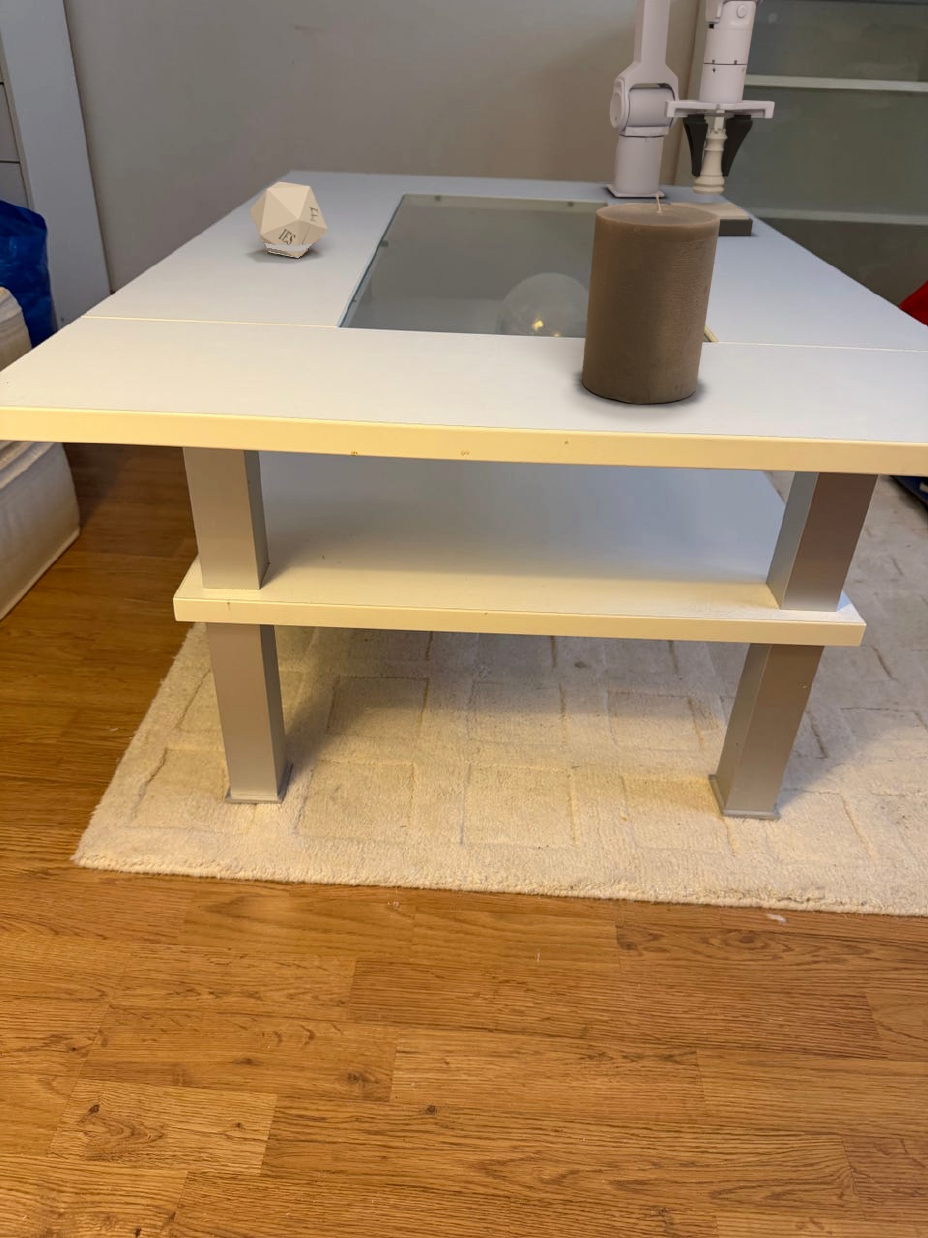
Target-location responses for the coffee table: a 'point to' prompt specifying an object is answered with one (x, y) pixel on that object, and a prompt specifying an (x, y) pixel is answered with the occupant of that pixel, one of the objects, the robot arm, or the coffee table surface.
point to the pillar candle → (648, 300)
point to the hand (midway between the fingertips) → (709, 175)
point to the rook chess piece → (711, 164)
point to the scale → (727, 218)
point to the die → (288, 217)
